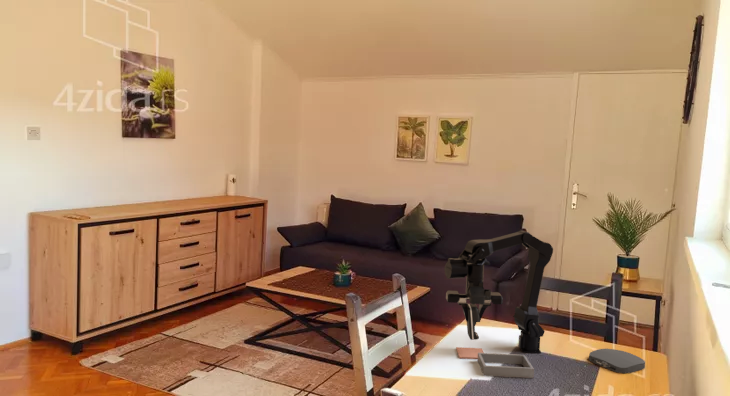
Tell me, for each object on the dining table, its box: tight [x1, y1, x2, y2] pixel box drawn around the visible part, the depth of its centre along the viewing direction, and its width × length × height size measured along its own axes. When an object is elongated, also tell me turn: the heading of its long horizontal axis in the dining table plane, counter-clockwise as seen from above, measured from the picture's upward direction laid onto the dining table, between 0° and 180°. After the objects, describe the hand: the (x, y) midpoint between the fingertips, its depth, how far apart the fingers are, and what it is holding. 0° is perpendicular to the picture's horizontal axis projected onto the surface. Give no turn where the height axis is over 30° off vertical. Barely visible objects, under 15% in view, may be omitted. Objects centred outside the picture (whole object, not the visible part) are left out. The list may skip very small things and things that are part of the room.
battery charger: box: [466, 303, 481, 341], centre depth 185 cm, size 7×4×11 cm, turn 178°
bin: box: [476, 352, 535, 379], centre depth 174 cm, size 16×12×3 cm
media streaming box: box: [588, 348, 646, 374], centre depth 182 cm, size 15×15×3 cm
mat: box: [455, 346, 485, 360], centre depth 186 cm, size 9×9×1 cm
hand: (472, 321), depth 185 cm, fingers closed on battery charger, 4 cm apart
